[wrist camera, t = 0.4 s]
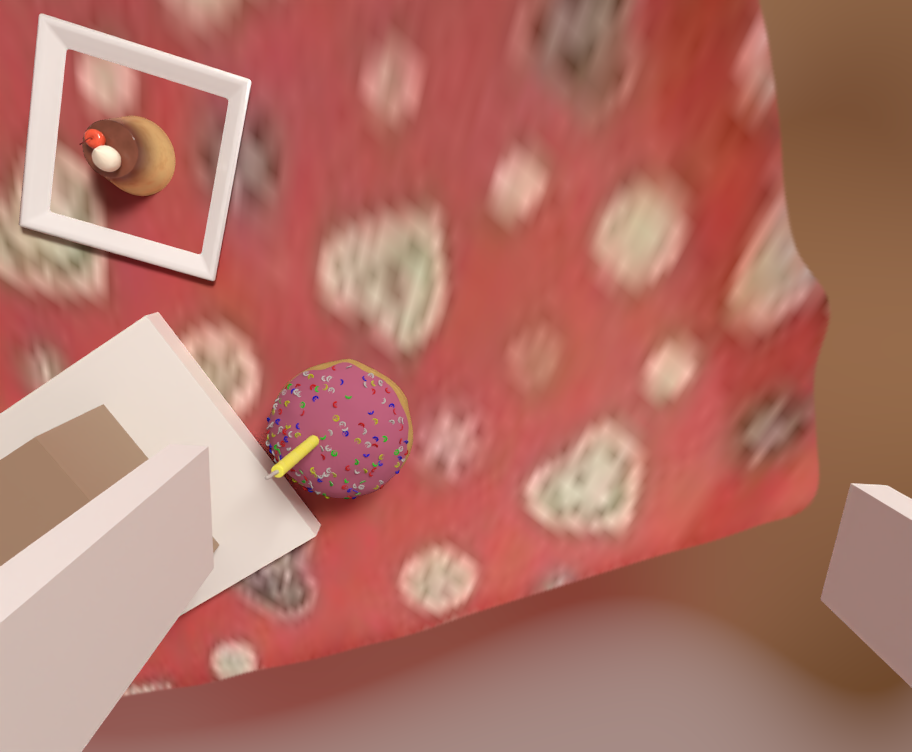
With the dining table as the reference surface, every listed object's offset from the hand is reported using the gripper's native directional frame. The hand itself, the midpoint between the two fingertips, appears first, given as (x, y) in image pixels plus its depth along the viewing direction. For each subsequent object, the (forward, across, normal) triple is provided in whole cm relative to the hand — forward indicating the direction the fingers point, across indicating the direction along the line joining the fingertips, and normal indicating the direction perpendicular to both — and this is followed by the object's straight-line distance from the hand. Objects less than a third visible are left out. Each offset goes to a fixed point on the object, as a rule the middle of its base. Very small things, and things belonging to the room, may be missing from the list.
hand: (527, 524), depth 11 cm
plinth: (+25, -24, -14) cm, 38 cm away
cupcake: (+25, -8, -6) cm, 27 cm away
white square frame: (+26, -21, +9) cm, 35 cm away
